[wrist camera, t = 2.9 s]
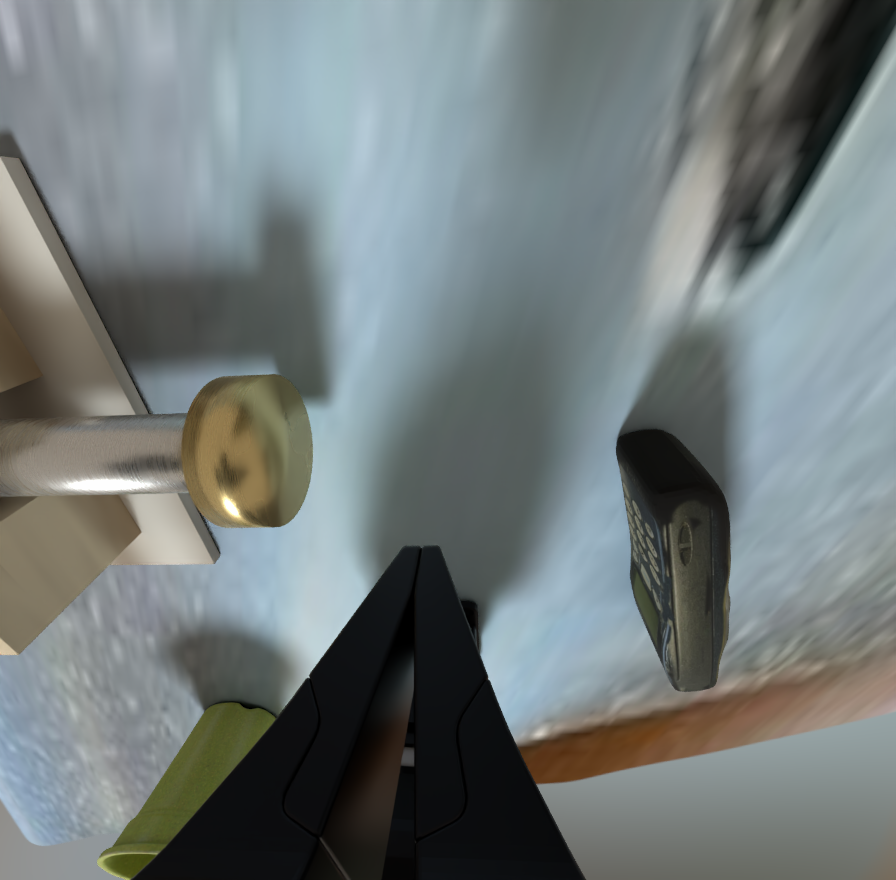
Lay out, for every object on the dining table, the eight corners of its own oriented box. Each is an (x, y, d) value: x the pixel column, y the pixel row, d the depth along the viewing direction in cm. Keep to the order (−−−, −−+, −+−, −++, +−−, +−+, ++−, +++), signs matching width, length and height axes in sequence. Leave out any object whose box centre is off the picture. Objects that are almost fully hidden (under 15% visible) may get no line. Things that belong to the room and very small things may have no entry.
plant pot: (324, 736, 33) (282, 891, 25) (236, 751, 35) (174, 898, 27) (254, 679, 28) (179, 847, 21) (159, 700, 30) (61, 859, 23)
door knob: (291, 353, 14) (211, 418, 10) (322, 468, 17) (271, 561, 12) (-94, 369, 15) (-326, 436, 11) (-7, 476, 18) (-164, 565, 13)
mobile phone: (643, 502, 13) (675, 726, 20) (743, 480, 12) (740, 719, 19) (600, 431, 17) (638, 635, 24) (672, 412, 16) (690, 626, 23)
